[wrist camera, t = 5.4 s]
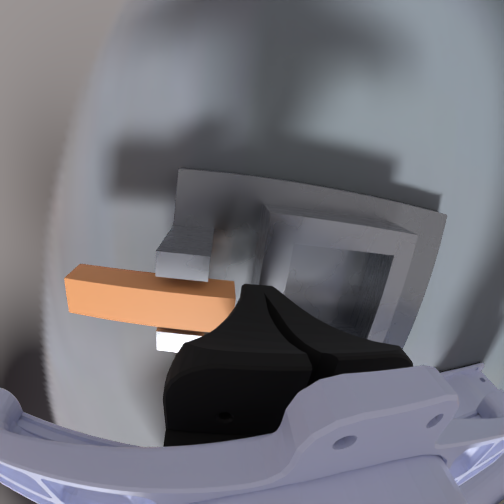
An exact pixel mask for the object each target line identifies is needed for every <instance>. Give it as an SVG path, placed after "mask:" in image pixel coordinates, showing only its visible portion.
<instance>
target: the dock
mask: <svg viewBox="0 0 504 504" xmlns="http://www.w3.org/2000/svg"><path fill="white" fill-rule="evenodd" d="M446 219H447V215H446V214H443V213H440V212H437V211H434V210H430V209H426V208H422V207H418V206H414V205H410V204H406V203H402V202H397V201H393V200H389V199H384V198H380V197H375V196H370V195H366V194H361V193H356V192H351V191H346V190H340V189H335V188H330V187H324V186H318V185H313V184H307V183H301V182H294V181H288V180H281V179H274V178H267V177H260V176H252V175H245V174H236V173H228V172H219V171H209V170H199V169H187V168H180V169H178V179H177V189H176V200H175V213H174V225H173V227H172V228H171V229H170V231H169V232H168V234H167V235H166V237H165V238H164V240H163V241H162V243H161V244H160V246H159V247H158V249H157V250H156V271H155V276H157V277H166V278H175V279H184V280H194V281H204V282H208V279H218V280H228V281H234V284H235V295H236V302H235V306H236V304H237V302H238V300H239V298H240V294H241V287H242V285H244V284H255V285H267V286H273V287H275V288H276V289H277V290H279V291H280V292H281V293H282V294H284V295H285V296H286V297H287V298H289V299H290V300H291V301H292V302H294V303H295V304H296V305H298V306H299V307H300V308H302V309H303V310H305V311H306V312H308V313H309V314H311V315H312V316H314V317H315V318H317V319H319V320H321V321H322V322H324V323H326V324H328V325H330V326H332V327H334V328H336V329H339V330H341V331H344V332H346V333H349V334H352V335H355V336H358V337H361V338H364V339H368V340H372V341H376V342H381V343H386V344H392V345H398V346H400V347H401V348H402V349H403V347H404V345H405V343H406V340H407V338H408V336H409V333H410V331H411V329H412V326H413V324H414V321H415V319H416V316H417V314H418V311H419V308H420V306H421V303H422V300H423V297H424V295H425V292H426V289H427V286H428V283H429V280H430V277H431V274H432V271H433V267H434V264H435V261H436V257H437V254H438V250H439V247H440V243H441V239H442V235H443V231H444V227H445V223H446ZM208 333H209V332H201V331H191V330H181V329H172V328H164V327H157V330H156V339H157V350H161V351H169V352H178V351H179V350H180V348H181V346H182V345H183V344H184V343H185V342H188V341H191V340H194V339H196V338H199V337H202V336H204V335H206V334H208Z"/></svg>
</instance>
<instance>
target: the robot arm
mask: <svg viewBox="0 0 504 504" xmlns="http://www.w3.org/2000/svg"><path fill="white" fill-rule="evenodd" d="M483 367H484V363H478V364H475V365H471V366H467V367H463V368H459V369H454V370H450V371H446V372H441V373H439V371H438V370H437V369H436V368H435V367H431V366H425V365H421V366H415V367H413V363H412V361H411V360H410V358H409V357H408V356H407V355H406V353H405V352H404V351H403V350H402V348H401V347H400V346H398V345H392V344H386V343H381V342H376V341H372V340H368V339H364V338H361V337H358V336H355V335H352V334H349V333H346V332H344V331H341V330H339V329H336V328H334V327H332V326H330V325H328V324H326V323H324V322H322V321H321V320H319V319H317V318H315V317H314V316H312V315H311V314H309V313H308V312H306V311H305V310H303V309H302V308H300V307H299V306H298V305H296V304H295V303H294V302H292V301H291V300H290V299H289V298H287V297H286V296H285V295H284V294H282V293H281V292H280V291H279V290H277V289H276V288H275V287H273V286H267V285H255V284H244V285H242V287H241V294H240V298H239V300H238V302H237V304H236V306H235V307H234V309H233V310H232V312H231V313H230V314H229V316H228V317H227V318H226V319H225V320H224V321H223V322H222V323H221V324H220V325H219V326H218V327H216V328H215V329H214V330H213V331H211V332H209V333H208V334H206V335H204V336H202V337H199V338H196V339H194V340H191V341H188V342H185V343H184V344H183V345H182V346H181V348H180V350H179V351H178V353H177V355H176V357H175V358H174V360H173V362H172V365H171V367H170V369H169V372H168V374H167V377H166V381H165V387H164V394H163V405H164V415H165V424H166V432H165V439H164V447H140V446H135V445H130V444H125V443H120V442H115V441H111V440H107V439H103V438H99V437H95V436H91V435H88V434H84V433H81V432H77V431H74V430H71V429H68V428H65V427H62V426H59V425H56V424H53V423H50V422H47V421H45V420H42V419H39V418H37V417H34V416H32V415H29V414H27V413H25V412H23V411H22V409H21V406H20V404H19V402H18V400H17V399H16V398H15V397H14V395H12V394H11V393H10V392H9V391H7V390H5V389H3V388H0V483H2V484H4V485H6V486H7V487H9V488H10V489H12V490H14V491H16V492H17V493H19V494H21V495H23V496H25V497H26V498H28V499H31V500H32V501H34V502H36V503H38V504H498V503H499V502H501V501H502V500H503V499H504V391H503V390H502V389H497V388H496V387H495V385H494V384H493V383H492V382H491V381H490V380H489V379H488V378H487V377H486V376H485V375H484V374H483V373H482V372H481V371H482V369H483ZM503 504H504V503H503Z"/></svg>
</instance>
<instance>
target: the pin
mask: <svg viewBox="0 0 504 504" xmlns="http://www.w3.org/2000/svg"><path fill="white" fill-rule="evenodd" d="M64 280H65V287H66V295H67V301H68V307H69V312H71V313H76V314H81V315H86V316H91V317H97V318H103V319H109V320H115V321H121V322H127V323H134V324H141V325H148V326H156V327H164V328H172V329H181V330H191V331H201V332H211V331H213V330H214V329H215V328H216V327H218V326H219V325H220V324H221V323H222V322H223V321H224V320H225V319H226V318H227V317H228V316H229V314H230V313H231V312H232V310H233V309H234V307H235V302H236V295H235V284H234V281H228V280H218V279H208V282H204V281H194V280H184V279H175V278H166V277H157V276H155V273H150V272H142V271H133V270H125V269H117V268H109V267H101V266H93V265H86V264H79V265H78V266H77V267H76V268H75V269H74V270H73V271H71V272H70V273H69V274H68V275H67V276H66V277H65V278H64Z"/></svg>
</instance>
